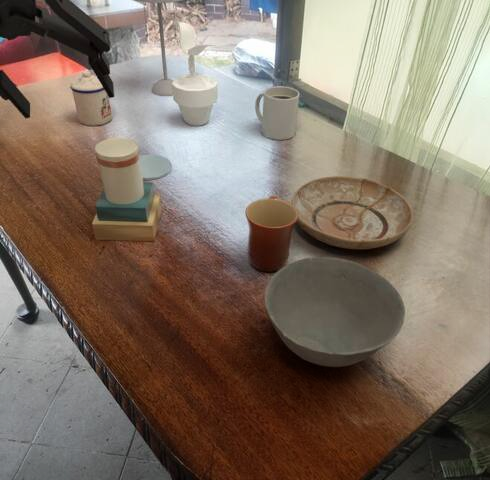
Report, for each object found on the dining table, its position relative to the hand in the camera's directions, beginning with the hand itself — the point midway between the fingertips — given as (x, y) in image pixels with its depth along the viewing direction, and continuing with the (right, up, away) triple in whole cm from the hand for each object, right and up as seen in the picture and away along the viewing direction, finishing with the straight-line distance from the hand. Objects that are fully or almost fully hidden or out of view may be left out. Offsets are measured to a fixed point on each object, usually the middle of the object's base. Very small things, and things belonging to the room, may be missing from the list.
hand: (69, 100), depth 69 cm
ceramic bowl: (+47, -15, +22) cm, 54 cm away
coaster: (+4, +2, +35) cm, 35 cm away
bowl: (+38, -38, -1) cm, 54 cm away
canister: (+4, -10, +15) cm, 18 cm away
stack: (+4, -14, +20) cm, 25 cm away
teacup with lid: (-13, +22, +53) cm, 59 cm away
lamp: (+3, +37, +68) cm, 78 cm away
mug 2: (+31, -22, +14) cm, 40 cm away
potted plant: (+14, +21, +53) cm, 59 cm away
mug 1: (+35, +17, +51) cm, 64 cm away
